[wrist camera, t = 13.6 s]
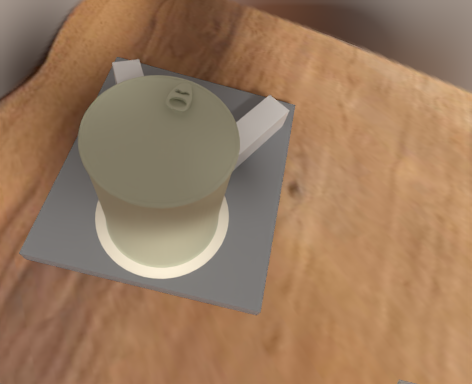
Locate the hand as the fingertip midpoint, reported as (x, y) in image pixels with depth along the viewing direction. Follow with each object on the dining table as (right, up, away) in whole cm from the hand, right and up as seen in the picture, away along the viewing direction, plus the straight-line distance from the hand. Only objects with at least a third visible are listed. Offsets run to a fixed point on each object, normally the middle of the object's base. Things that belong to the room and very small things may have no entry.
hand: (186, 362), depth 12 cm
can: (-5, +3, +20) cm, 21 cm away
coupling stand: (-4, +7, +24) cm, 25 cm away
